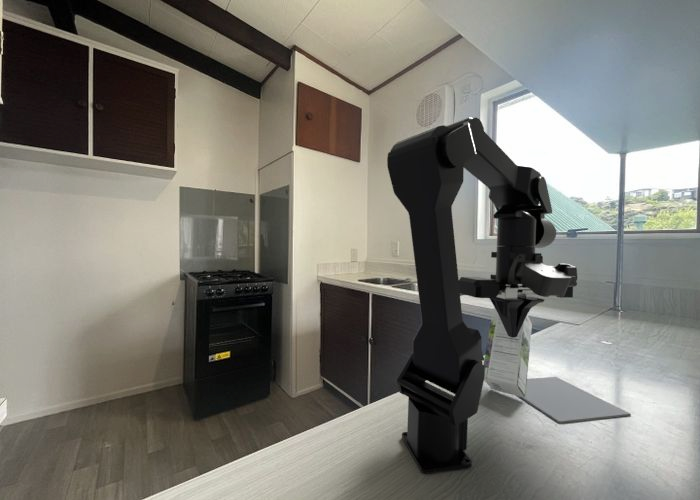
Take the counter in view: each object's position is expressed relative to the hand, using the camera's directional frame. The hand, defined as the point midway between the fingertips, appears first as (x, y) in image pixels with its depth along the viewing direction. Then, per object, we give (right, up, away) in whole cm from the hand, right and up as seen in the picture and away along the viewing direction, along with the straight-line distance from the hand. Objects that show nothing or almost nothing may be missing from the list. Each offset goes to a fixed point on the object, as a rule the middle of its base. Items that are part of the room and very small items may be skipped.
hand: (512, 336), depth 48 cm
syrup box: (-1, -9, 0) cm, 9 cm away
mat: (+9, -12, +2) cm, 15 cm away
